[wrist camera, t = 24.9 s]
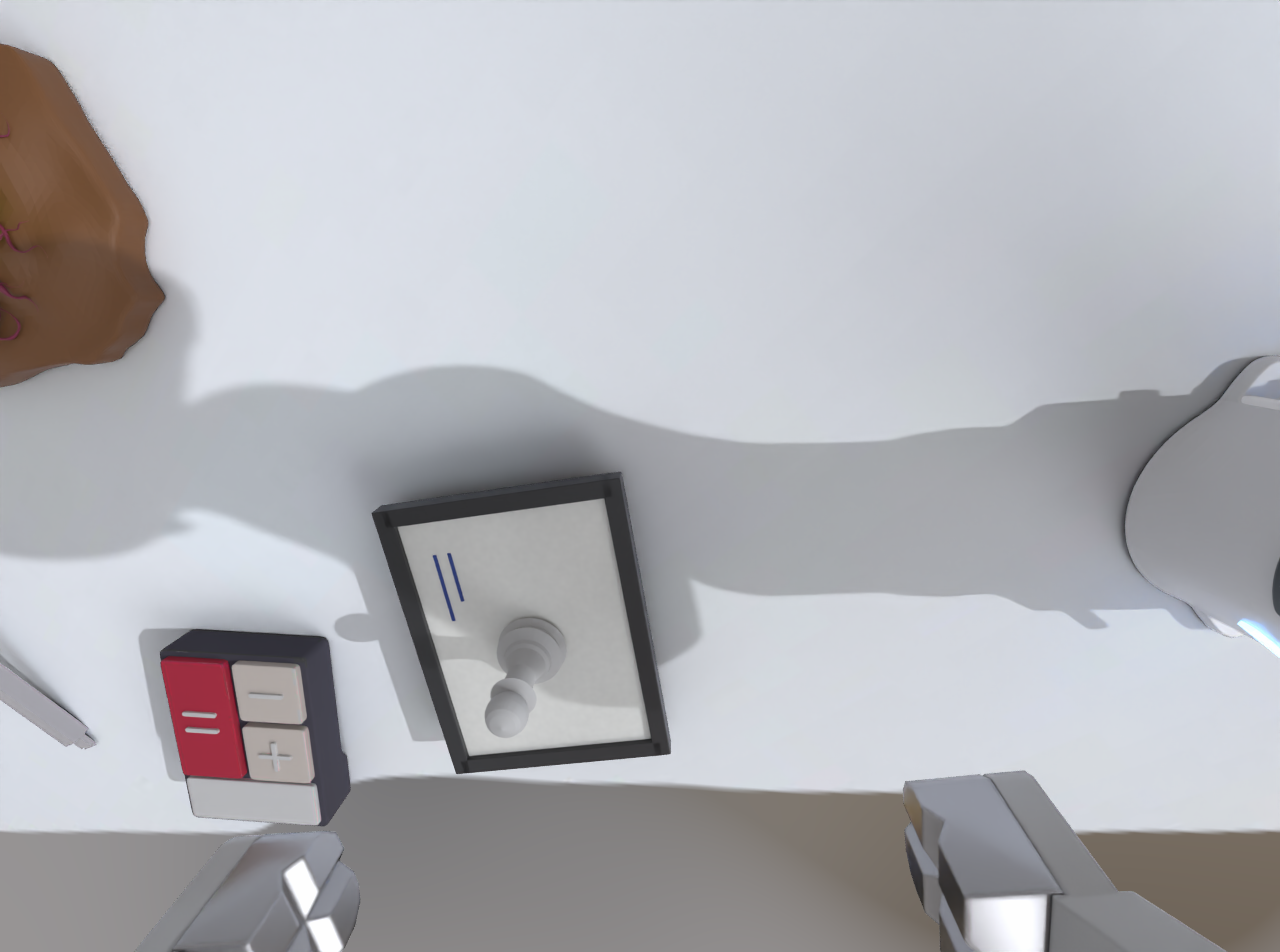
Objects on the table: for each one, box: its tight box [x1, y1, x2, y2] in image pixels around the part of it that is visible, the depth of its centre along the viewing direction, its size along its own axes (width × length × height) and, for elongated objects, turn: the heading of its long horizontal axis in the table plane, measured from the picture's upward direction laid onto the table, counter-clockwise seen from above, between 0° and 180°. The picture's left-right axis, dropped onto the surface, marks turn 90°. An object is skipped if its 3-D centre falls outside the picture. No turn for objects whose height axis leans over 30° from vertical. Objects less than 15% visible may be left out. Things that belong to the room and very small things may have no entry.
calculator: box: [160, 630, 350, 826], centre depth 45 cm, size 11×4×15 cm
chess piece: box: [485, 618, 567, 738], centre depth 37 cm, size 5×5×8 cm
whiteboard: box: [372, 472, 671, 774], centre depth 42 cm, size 16×21×3 cm
